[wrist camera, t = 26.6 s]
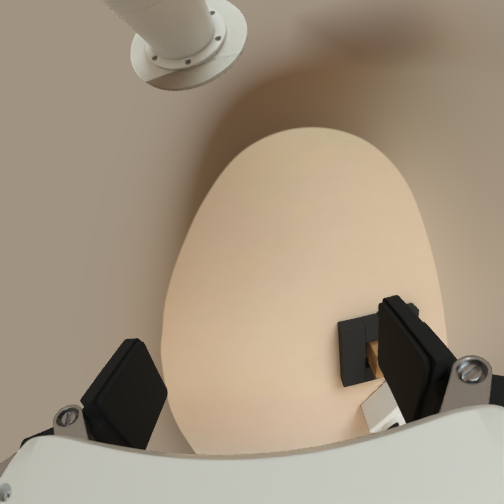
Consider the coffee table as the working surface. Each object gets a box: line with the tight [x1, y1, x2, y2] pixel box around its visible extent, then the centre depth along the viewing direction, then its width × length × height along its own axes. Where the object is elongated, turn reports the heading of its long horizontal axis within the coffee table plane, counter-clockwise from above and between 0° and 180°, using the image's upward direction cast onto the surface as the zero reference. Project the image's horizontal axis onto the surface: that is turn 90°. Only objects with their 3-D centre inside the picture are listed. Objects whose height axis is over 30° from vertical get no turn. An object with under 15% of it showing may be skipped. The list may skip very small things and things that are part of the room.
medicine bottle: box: [361, 381, 406, 433], centre depth 35 cm, size 7×7×12 cm
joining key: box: [365, 340, 384, 378], centre depth 35 cm, size 4×4×6 cm
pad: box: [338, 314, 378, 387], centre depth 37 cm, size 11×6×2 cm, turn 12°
